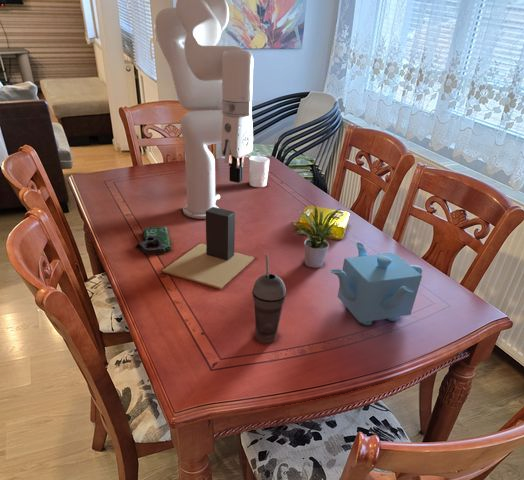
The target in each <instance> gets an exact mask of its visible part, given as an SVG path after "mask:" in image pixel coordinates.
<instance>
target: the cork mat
mask: <svg viewBox="0 0 524 480" xmlns="http://www.w3.org/2000/svg"><path fill="white" fill-rule="evenodd" d="M254 260H255V256H251V255H247V254H243V253H240V252H237V251H234V256H233V257H232V258H230V259H229V260H228V261H227V260H223V259H220V258H216V257H212V256H209V255H206V243H202V242H201V243H199V244H197V245H196V246H194V247H193V248H192V249H190V250H188V251H187V252H186V253H184V254H183V255H181V256H180V257H179V258H177V259H176V260H175V261H173V262H172V263H170V264H169V265H168V266H166V267H165V268H163V269H162V273H164V274H168V275H171V276H175V277H178V278H180V279H184V280H188V281H191V282H194V283H198V284H201V285H205V286H208V287H211V288H215V289H218V290H222V289H223V288H224V287H225V286H226V285H227V284H229V283H230V282H231V281H232V280H233V279H234V278H235V277H236V276H237V275H239V273H241V272H242V271H243V270H244V269H245V268H246V267H247V266H249V264H250V263H252V262H253V261H254Z"/></svg>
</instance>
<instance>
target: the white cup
mask: <svg viewBox="0 0 524 480" xmlns="http://www.w3.org/2000/svg"><path fill="white" fill-rule="evenodd" d="M269 168H270V158H269V157H267V156H264V155H252V156H250V157H248V173H249V175H248V176H249V186H251V187H254V188H265V187H266V186H267V185H268V184H267V183H268V176H269Z"/></svg>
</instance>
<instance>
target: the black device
mask: <svg viewBox="0 0 524 480" xmlns="http://www.w3.org/2000/svg"><path fill="white" fill-rule="evenodd" d="M235 236H236V211H232V210H228V209H224V208H220V207H219V208H216V207H212V208H210V209H209V210H207V211H206V219H205V244H206V255H209V256H212V257H216V258H220V259H223V260H227V261H228V260H229V259H230V258H232V257H233V256H234V252H235Z"/></svg>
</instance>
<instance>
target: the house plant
mask: <svg viewBox="0 0 524 480" xmlns="http://www.w3.org/2000/svg"><path fill="white" fill-rule="evenodd" d="M312 206H314V210H315V217H314V215H313V214H312V213H311V215H312V217H313V219H314V221H315V223H314V221H313V220H312V221H311V219H310V218H309V216H308V215H306V214H305V213H303V211H301V210H296V209H295V211H297V212H299V213H300V216H301V215H302V214H304V215H305V216H306V217H307V218H308V219H309V221H310V222H311V224H312V225H308V226H309V227H310V228H311V229H312V231H313V233H312V232H311V231H310V230H309V229H307V228H306V227H304V226H302V225H300V224H298V222H292V221H290V223H292V225H293V226H295V227H297V228H298V227H299V228H300V229H301V230H298V229H297V230H296V231H295V233H294V235H299V234H301V233H304V234H303V235H305V236H306V237H307V239H305V240H304V243H303V244H304V245H303V247H304V249H303V250H304V264H305V265H306V266H307V267H310V268H315V269H316V268H321V267H322V266H323V264H324V262H325V259H326V256H327V253H328V251H329V247H330V244H329V242H328V241H326V240H327V239H328V238H327V236H328V237H330V236H329V235H330V234H332V233H333V232H330V230H332V229H333V228H331V227H332V226H334V225H333V224H334V223H335V222H336V221H337V220H338V219H339V218H338V219H337V220H336V221H335V222H334V223H333V224H332V225H331V226H330V227H328V226H329V225H330V224H331V222H332V221H333V220H334V219H335V217H336V216H337V215H336V216H335V217H334V218H333V216H334V215H335V214H336V213H337V212H338V211H339V210H340V211H342V208H339V209H335V210H336V211H334V212H331V213H332V214H331V213H329V214H328V215H327V216H326V217H325V219H324V221H323V224H324V222H325V220H326V219H327V217H328V216H329V215H330V214H331V215H330V216H329V217H328V219H327V221H326V223H325V225H324V228H323V229H322V227H323V224H322V220H323V211H322V213H321V211H320V219H319V225H318V210H317V208H316V207H317V206H316V205H315V204H313V205H312ZM304 215H303V216H304ZM307 218H306V219H307ZM332 218H333V219H332ZM301 219H302V218H301ZM308 219H307V220H308ZM331 219H332V220H331ZM303 220H304V219H303ZM330 220H331V222H330ZM309 221H308V222H309ZM329 222H330V223H329ZM309 224H310V223H309ZM315 226H316V229H315ZM333 230H334V229H333ZM301 235H302V234H301ZM332 236H336V237H338V236H337V235H332ZM338 239H339V238H338Z"/></svg>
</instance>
